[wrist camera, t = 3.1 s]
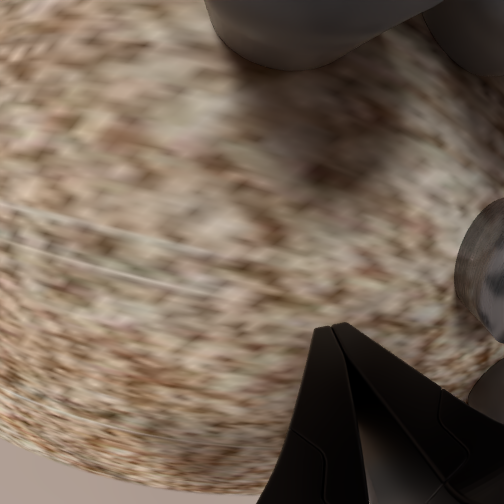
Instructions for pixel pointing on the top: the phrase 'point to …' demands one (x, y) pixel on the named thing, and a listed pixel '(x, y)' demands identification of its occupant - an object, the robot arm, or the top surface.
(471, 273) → the grey metallic short cylinder
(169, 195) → the top surface
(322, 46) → the spacers
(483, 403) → the spacers
